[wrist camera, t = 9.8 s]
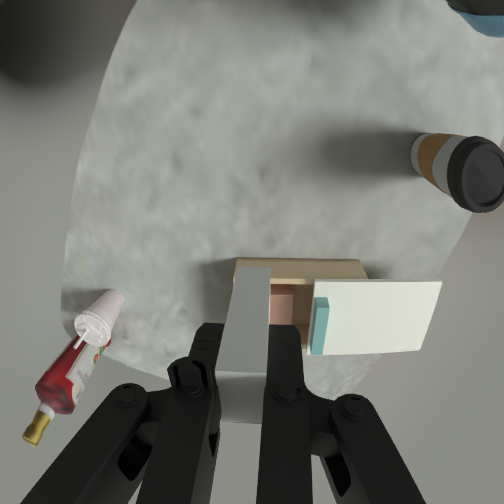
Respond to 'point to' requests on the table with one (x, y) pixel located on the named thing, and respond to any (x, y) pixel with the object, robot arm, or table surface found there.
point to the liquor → (62, 385)
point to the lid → (370, 315)
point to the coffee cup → (462, 168)
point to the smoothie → (99, 319)
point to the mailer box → (299, 285)
